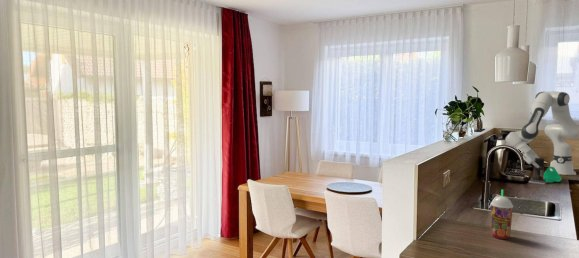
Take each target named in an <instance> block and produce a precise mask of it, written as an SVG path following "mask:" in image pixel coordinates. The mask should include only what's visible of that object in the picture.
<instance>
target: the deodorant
mask: <svg viewBox="0 0 579 258" xmlns="http://www.w3.org/2000/svg"><path fill="white" fill-rule="evenodd" d="M535 160H536V161H535V162H536V163H537V164H538V165H539V166H540V167H538V168H537V167H536V166H534V165H533V176H532V178H533V179H534V180H543V175H544V172H545V170H544V167H545V158H542V157H539V158H535Z"/></svg>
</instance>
